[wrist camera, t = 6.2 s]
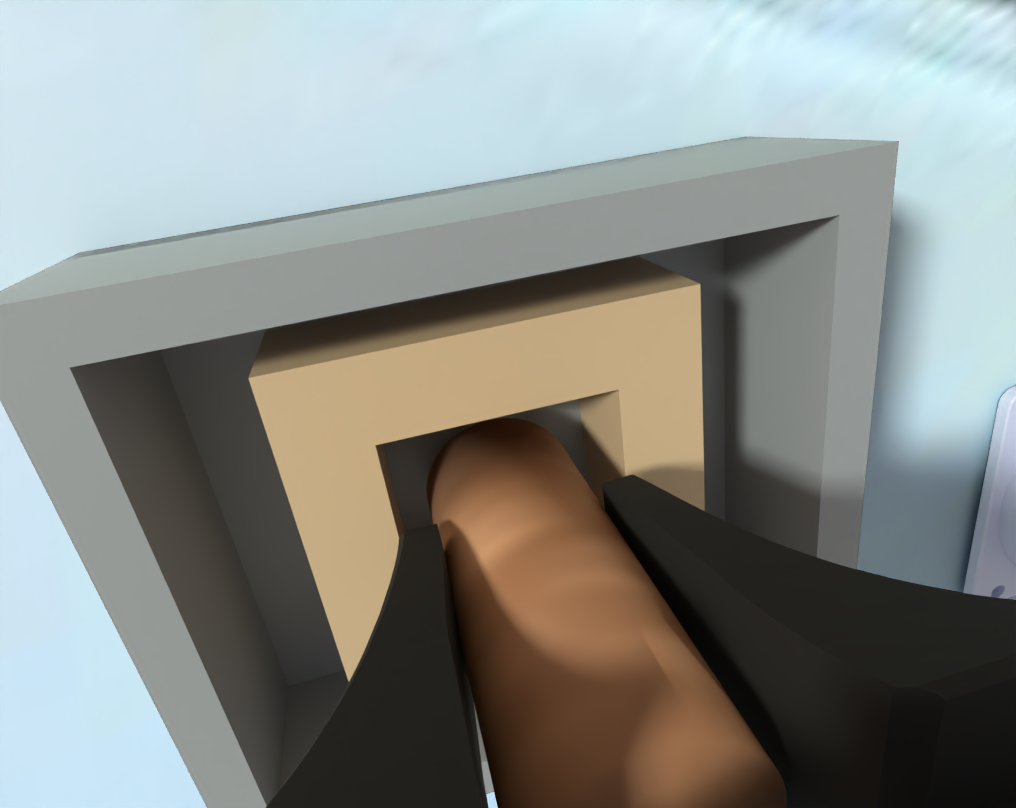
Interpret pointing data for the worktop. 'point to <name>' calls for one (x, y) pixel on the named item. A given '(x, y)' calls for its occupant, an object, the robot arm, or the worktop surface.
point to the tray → (212, 466)
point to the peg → (578, 643)
